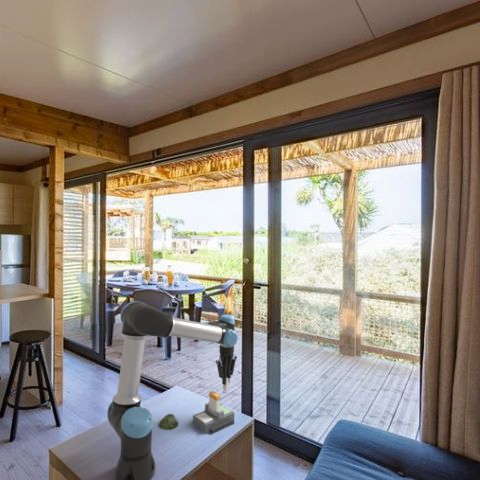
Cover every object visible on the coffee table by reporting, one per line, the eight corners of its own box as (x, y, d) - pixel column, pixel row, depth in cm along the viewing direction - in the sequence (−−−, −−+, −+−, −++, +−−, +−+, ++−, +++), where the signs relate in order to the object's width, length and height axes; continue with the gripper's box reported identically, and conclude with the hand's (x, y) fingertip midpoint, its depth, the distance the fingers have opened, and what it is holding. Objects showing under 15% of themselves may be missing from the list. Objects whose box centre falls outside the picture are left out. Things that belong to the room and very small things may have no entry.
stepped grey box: (206, 433, 159) (206, 418, 158) (192, 423, 167) (192, 408, 167) (234, 420, 171) (235, 406, 171) (220, 411, 179) (220, 397, 179)
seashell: (156, 420, 161) (163, 410, 171) (155, 429, 161) (162, 417, 171) (176, 424, 160) (182, 413, 170) (175, 432, 160) (181, 421, 170)
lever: (216, 416, 165) (217, 397, 165) (207, 410, 171) (208, 391, 171) (220, 414, 167) (221, 396, 167) (211, 408, 172) (211, 390, 172)
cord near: (212, 434, 159) (212, 430, 159) (209, 432, 160) (209, 428, 160) (234, 423, 168) (234, 420, 168) (231, 422, 169) (231, 418, 169)
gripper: (221, 349, 166) (220, 396, 166) (240, 344, 175) (239, 388, 175) (212, 345, 171) (211, 391, 172) (231, 340, 180) (230, 383, 181)
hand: (225, 390), depth 174 cm, fingers closed
